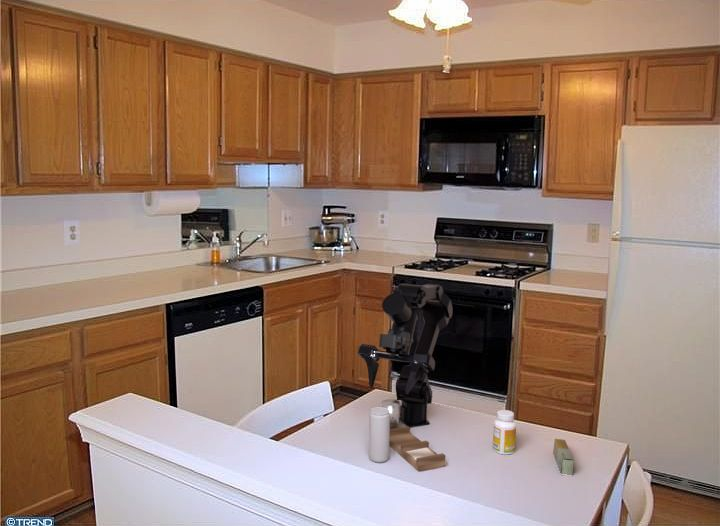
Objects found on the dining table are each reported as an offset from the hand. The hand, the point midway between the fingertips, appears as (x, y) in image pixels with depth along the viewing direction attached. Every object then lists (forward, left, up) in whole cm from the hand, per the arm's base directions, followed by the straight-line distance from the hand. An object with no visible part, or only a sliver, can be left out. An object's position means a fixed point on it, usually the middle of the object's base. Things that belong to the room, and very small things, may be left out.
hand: (388, 390), depth 153 cm
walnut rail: (-5, 0, -15) cm, 16 cm away
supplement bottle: (-27, +11, -15) cm, 33 cm away
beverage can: (+4, +4, -15) cm, 16 cm away
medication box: (-35, +22, -16) cm, 44 cm away
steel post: (-5, -9, -14) cm, 17 cm away
